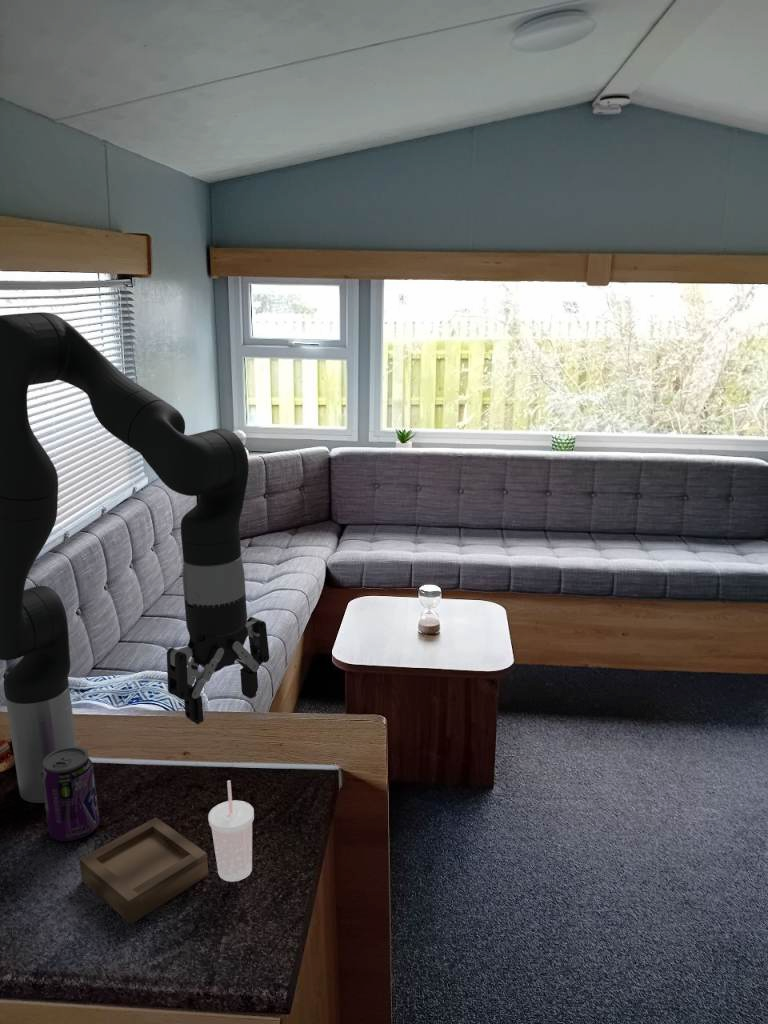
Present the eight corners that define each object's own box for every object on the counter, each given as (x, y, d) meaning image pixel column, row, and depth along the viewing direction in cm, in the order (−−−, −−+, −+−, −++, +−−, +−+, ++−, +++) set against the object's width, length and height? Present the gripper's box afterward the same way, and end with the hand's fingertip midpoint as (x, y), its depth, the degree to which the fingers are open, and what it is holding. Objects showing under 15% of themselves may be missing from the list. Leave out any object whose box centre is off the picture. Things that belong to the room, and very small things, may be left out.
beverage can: (83, 848, 122) (74, 774, 119) (39, 842, 123) (28, 769, 120) (108, 817, 129) (100, 747, 125) (66, 812, 130) (57, 742, 127)
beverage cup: (240, 849, 121) (234, 763, 117) (266, 869, 117) (261, 780, 113) (203, 870, 117) (196, 781, 113) (229, 892, 113) (222, 800, 109)
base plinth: (82, 881, 115) (79, 859, 114) (158, 837, 124) (155, 817, 123) (131, 924, 108) (128, 901, 107) (208, 874, 116) (206, 853, 115)
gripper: (240, 569, 113) (247, 680, 118) (148, 600, 103) (159, 720, 107) (278, 582, 108) (284, 697, 113) (184, 616, 98) (195, 741, 103)
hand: (223, 708), depth 110 cm, fingers open, 8 cm apart
